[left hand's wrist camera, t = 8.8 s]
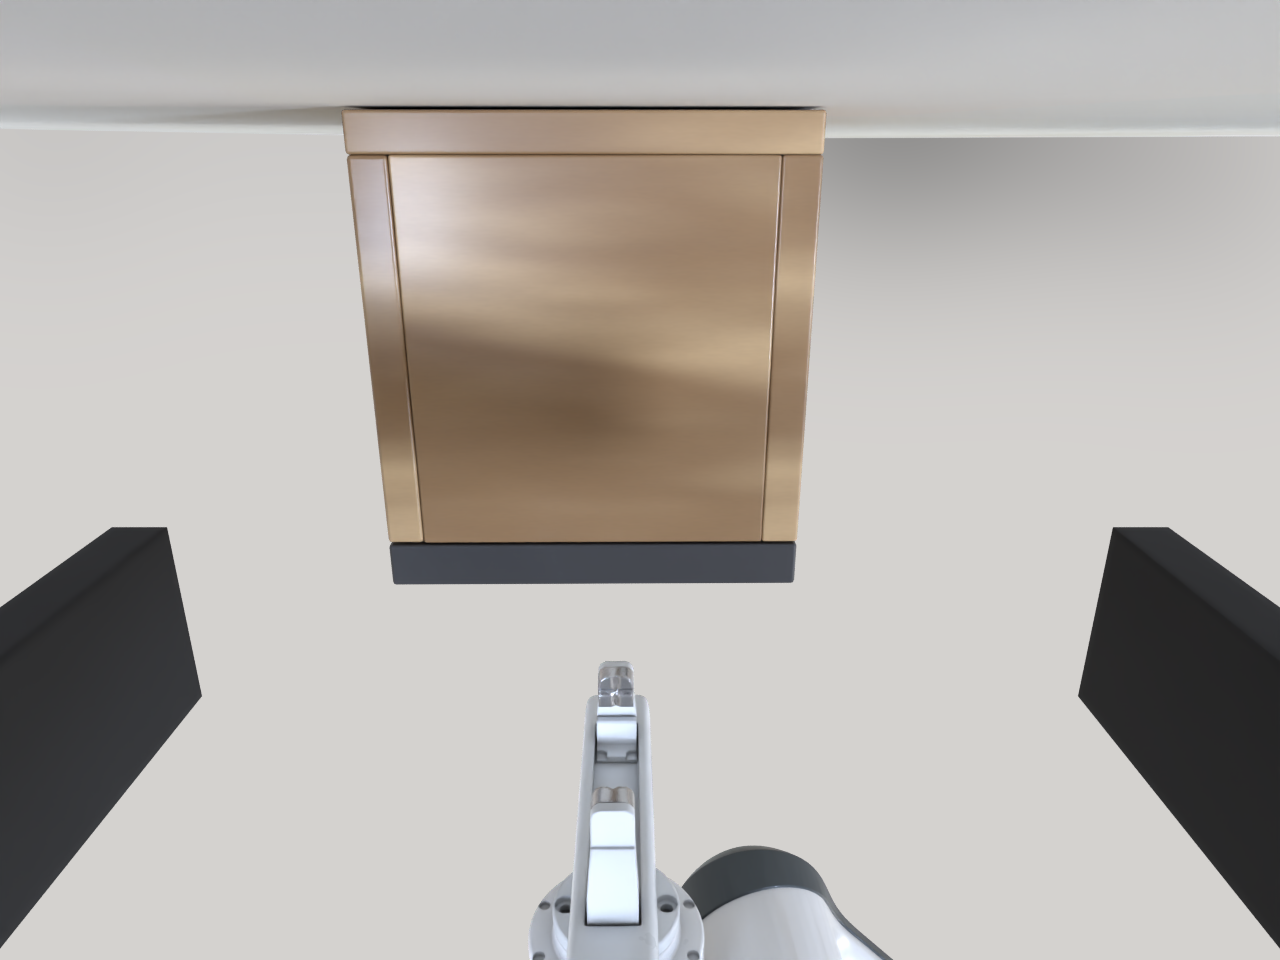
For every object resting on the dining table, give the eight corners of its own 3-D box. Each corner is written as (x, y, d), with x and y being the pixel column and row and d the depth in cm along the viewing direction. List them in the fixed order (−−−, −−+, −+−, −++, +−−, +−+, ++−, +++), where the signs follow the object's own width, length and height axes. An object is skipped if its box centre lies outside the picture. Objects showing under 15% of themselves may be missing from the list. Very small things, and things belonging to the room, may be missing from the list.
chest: (733, 127, 32) (725, 371, 35) (478, 127, 32) (492, 371, 35) (827, 109, 17) (797, 542, 20) (339, 109, 17) (388, 543, 20)
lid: (723, 368, 36) (716, 556, 39) (496, 368, 36) (507, 557, 39) (797, 543, 20) (776, 840, 23) (388, 545, 20) (421, 842, 23)
